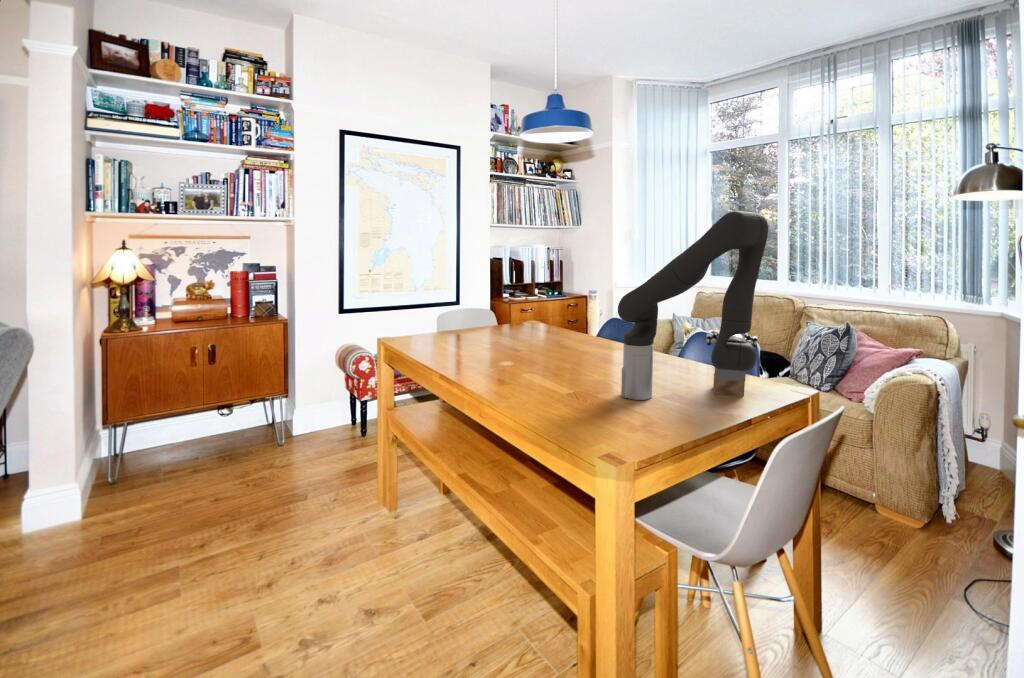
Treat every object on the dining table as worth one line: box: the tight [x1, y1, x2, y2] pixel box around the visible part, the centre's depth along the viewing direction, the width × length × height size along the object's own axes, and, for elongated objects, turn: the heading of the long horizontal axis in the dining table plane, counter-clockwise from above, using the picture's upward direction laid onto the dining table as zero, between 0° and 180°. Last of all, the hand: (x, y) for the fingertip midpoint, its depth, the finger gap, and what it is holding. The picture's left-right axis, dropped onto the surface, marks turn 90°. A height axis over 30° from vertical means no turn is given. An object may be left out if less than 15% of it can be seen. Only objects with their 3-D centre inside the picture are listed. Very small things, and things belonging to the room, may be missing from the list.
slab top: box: [714, 367, 747, 382], centre depth 173 cm, size 9×9×5 cm
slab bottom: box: [712, 372, 746, 397], centre depth 174 cm, size 9×9×5 cm
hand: (730, 336), depth 165 cm, fingers open, 8 cm apart
